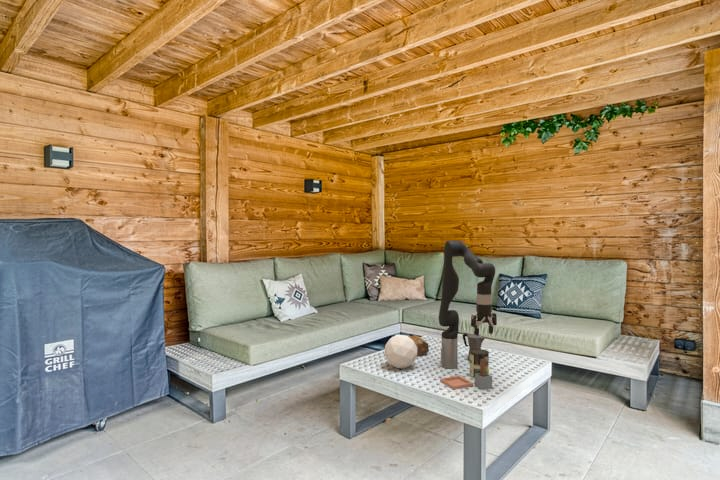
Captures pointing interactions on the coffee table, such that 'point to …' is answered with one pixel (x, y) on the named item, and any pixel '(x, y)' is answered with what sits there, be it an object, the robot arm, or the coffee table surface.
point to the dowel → (483, 367)
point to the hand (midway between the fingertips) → (483, 334)
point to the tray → (456, 382)
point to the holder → (483, 381)
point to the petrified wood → (420, 345)
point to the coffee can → (478, 361)
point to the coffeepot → (473, 342)
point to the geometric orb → (401, 351)
